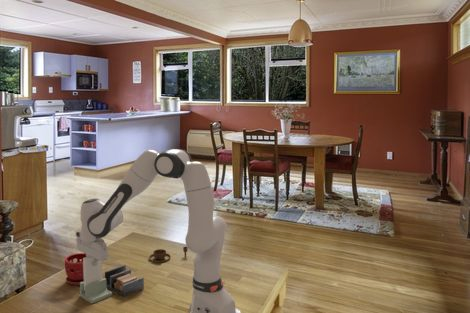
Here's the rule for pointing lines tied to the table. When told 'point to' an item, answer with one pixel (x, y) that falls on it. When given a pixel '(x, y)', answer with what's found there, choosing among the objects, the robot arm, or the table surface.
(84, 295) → the sheet stand
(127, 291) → the offcut rack
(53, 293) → the table surface
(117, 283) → the offcut lower
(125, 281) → the offcut upper
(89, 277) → the tall sheet
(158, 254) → the place setting
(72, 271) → the plant pot
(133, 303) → the table surface
